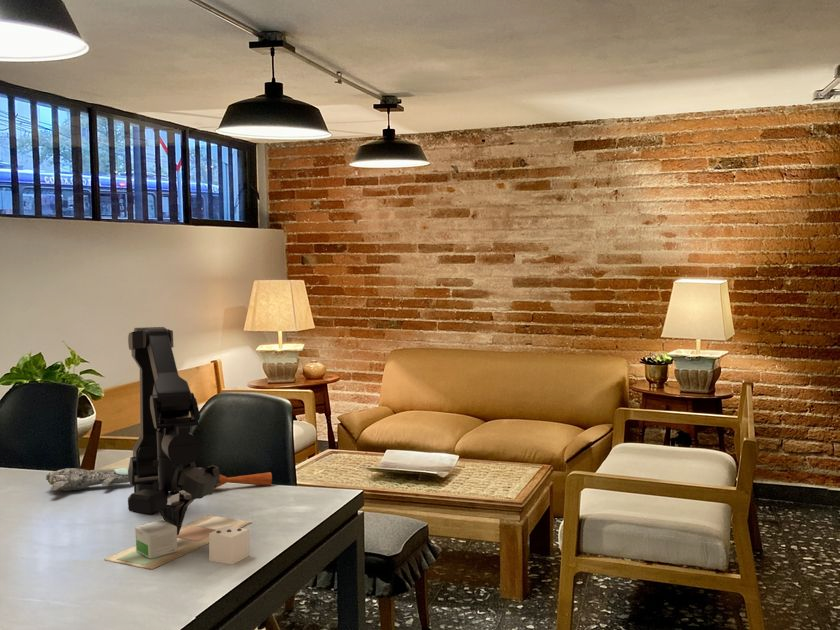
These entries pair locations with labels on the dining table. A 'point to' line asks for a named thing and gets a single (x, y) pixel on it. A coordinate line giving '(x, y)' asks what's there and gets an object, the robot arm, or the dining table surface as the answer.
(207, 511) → the dining table surface
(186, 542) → the game board
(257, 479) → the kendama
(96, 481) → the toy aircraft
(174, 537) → the small box
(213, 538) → the die
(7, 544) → the dining table surface
